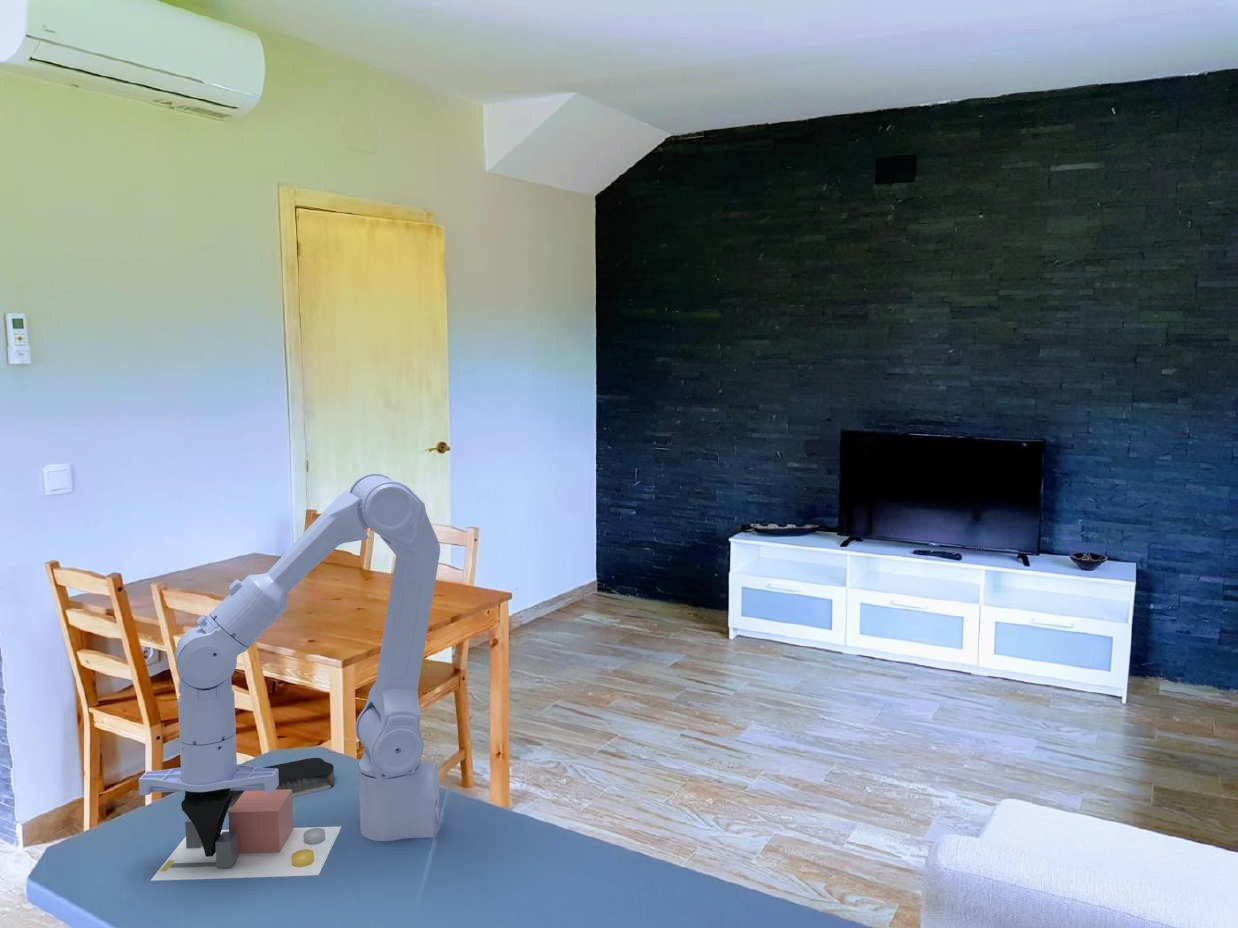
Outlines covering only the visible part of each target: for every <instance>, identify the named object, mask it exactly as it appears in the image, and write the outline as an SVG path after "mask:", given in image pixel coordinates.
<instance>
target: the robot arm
mask: <svg viewBox="0 0 1238 928" xmlns="http://www.w3.org/2000/svg"><path fill="white" fill-rule="evenodd" d="M367 529H370V530H372V532H374V533H375V534H377V535H378V536H380V538H381V540H382V541H383V542H384V543H385V545H387V546H388V547H389V549H390V550H391V552H393V553H394V555H395V561H394V568H393V572H392V580H391V584H390V592H389V597H388V604H387V610H386V616H385V622H384V628H383V629H384V630H383V635H382V641H381V647H380V653H379V658H378V659H379V660H378V667H377V671H376V673H377V674H376V677H375V682H374V684H373V686H372V687H371V688H370V690H369V692H368V695H367V701H366V704H365V706H364V708H363V709H362V710H361V712H360V713H359V715H358V717H357V719H356V722H355V734H356V737H357V739H358V740H359V742H360V743H361V745H362V746H364V747H363V748H364V751H363V754H362V757H361V758H360V760H359V763H358V777H359V778H358V780H359V781H358V783H359V785H358V786H359V816H360V817H359V821H360V822H359V825H360V833H361V835H362V836H363V837H365V838H366V839H368V840H371V841H376V842H393V841H398V840H404V839H421V838H425V839H426V838H432V841H431V844H430V849H433V847H434V844H435V840H436V835H437V833H438V829H439V825H440V821H441V809H440V775H439V773H440V772H439V765H438V763H437V762H436V763H435V762H429V761H427V762H426V761H423V760H421V759H422V756H423V753H424V750H425V749H424V748H425V747H424V746H425V744H424V743H425V742H424V738H423V736H422V732H421V720H422V713H421V712H422V711H421V706H420V700H419V692H418V690H419V684H420V679H421V673H422V672H421V671H422V665H423V660H424V653H425V648H426V640H427V635H428V630H429V629H428V627H429V623H430V616H431V612H432V604H433V597H434V592H435V586H436V581H437V573H438V567H439V561H440V555H441V554H440V553H441V544H440V542H439V539H438V537H437V534H436V532H435V530H434V528H433V526H432V523H431V521H430V517H429V516H428V513H427V511H426V505H425V502H424V501H423V500H422V499H421V498H420V497H419V496H418V495H417V494H416V493H415V492H414V491H413V490H412V489H411V488H409V487H408V486H407V485H406V484H405V483H402V482H399V481H397V480H393V479H392V478H390V477H388V476H386V475H385V474H380V473H369V474H365V475H363V476H361V477H359V478H358V479H357V480H356V481H355V482H354V483H353V484H352V485H351V487H350V489H349V490H345V491H343V492H342V493H340V494H339V495H337V496H336V498H335V499H333V501H332V502H331V503H330V504H329V505H328V507H326V509H324V510H323V512H322V513H321V514H320V515H319V516H318V517H317V518H316V519H315V520H314V521H313V523H311V524H310V525H309V527H308V528H307V529H305V530H304V532H303V533H302V534H301V535H300V536H299V537H298V539H296V541H295V542H294V543H293V544H292V545H290V547H289V548H288V549H287V550H286V552H285V553H284V554H283V555H281V557H280V558H278V560H277V561H276V562H275V563H274V564H273V565H272V566H271V568H270V569H268V571H267V572H264V573H260V574H259V573H258V574H249V575H247V576H246V577H245V578H244V579H243V580H242V581H240V580H239V579H235V580H234V581H233V582H231V584H230V585H229V586H228V589H229V591H230V593H229V594H228V595H227V596H226V597H225V598H223V600H222V601H220V602H219V604H218V605H217V606H216V607H215V608H213V610H212V611H211V612H210V613H208V615H207V616H206V615H205V614H202V615H201V616H200V617H199V618H198V619H197V620H196V625H198V626H197V627H191V628H190V629H188V630H187V631H186V632H184V633H183V634H182V635H181V636H180V638H179V640H177V641H178V642H177V644H176V648H175V651H174V652H173V655H174V659H175V661H176V662H175V663H176V670H177V672H178V675H179V681H178V685H177V686H178V688H177V689H178V693H179V696H178V699H177V710H178V733H179V734H178V735H179V752H180V753H179V755H180V758H179V759H180V767H176V768H175V767H173V768H169V769H168V768H167V769H159V770H147V771H145V772H144V773H143V774H141V776H140V777H139V778H138V791H139V792H138V793H139V794H138V795H139V796H149V795H151V794H152V793H175V792H176V793H177V792H179V793H181V792H184V799H182V801H181V802H180V805H181V810H182V812H184V814H185V815H186V816H187V817H188V818H189V819H190V820H191V822H192V823H193V825H194V827H195V828H196V830H197V833H198V835H199V837H200V840H201V842H202V845H203V848H204V852H205V856H206V857H212V856H213V855H214V854H215V852H216V845H215V842H216V841H217V839H218V838H219V837H220V835H221V830H223V827H224V823H225V819H226V815H227V814H228V812H227V811H228V808H229V806H230V803H231V801H232V799H233V796H234V794H235V792H236V790H264V792H274V791H275V789H276V788H277V786H278V785H279V775H278V768H263V767H259V766H254V765H247V764H246V765H245V764H238V760H237V759H238V757H237V732H236V731H237V730H236V728H237V727H236V707H235V705H236V704H235V691H234V690H233V688H232V686H233V685H232V676H233V675H234V673H235V671H236V668H237V663H238V656H239V655H240V654H242V653H244V652H246V651H248V649H249V648H250V647H251V646H253V645H254V643H255V642H256V641H257V640H258V639H259V638H260V637H261V636H263V634H264V633H265V632H266V631H267V630H268V629H269V628H270V627H271V626H272V625H273V624H274V623H275V622H276V621H277V620H278V619H279V618H280V617H281V616H282V615H283V614H284V613H285V612H286V611H287V610H288V594H289V593H290V591H292V589H294V587H296V586H297V585H298V584H299V583H300V582H301V581H302V580H303V579H304V578H305V577H306V576H308V575H309V574H310V573H311V572H312V571H313V570H314V569H315V568H316V567H317V566H318V565H319V564H320V563H321V562H323V561H324V560H325V559H326V558H327V557H328V556H329V555H330V554H331V553H332V552H334V551H335V549H337V548H338V547H339V546H340V545H342V544H346V543H352V542H353V543H354V542H358V541H365V540H368V539H369V535H368V533H367V532H366V530H367Z"/></svg>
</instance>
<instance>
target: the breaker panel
mask: <svg viewBox="0 0 1238 928" xmlns="http://www.w3.org/2000/svg"><path fill="white" fill-rule="evenodd" d="M184 822H185V823H184V825H185V837H184V838H183V839H182V840H181V841H180V843H179V844H178V845H177V847H176V848H175V849H174V850H173V851H172V853H171V854H170V855H169V857H168V858H167V859H166V860H165V862H164V863H163V864H162V865H161V867H160V868H159V869H158V870H157V872H156V873H155V874H154V875H153V876H152V878H151V879H150V882H156V881H157V882H158V881H187V880H189V881H190V880H218V879H221V880H222V879H247V878H249V879H251V878H278V877H283V878H284V877H307V876H308V877H309V876H310V877H311V876H313V877H315V876H317V877H318V876H320V874H321V872H322V869H323V867H324V865H325V862H326V860H327V859H328V857H329V855H330V852H331V851H332V848H333V846H334V844H335V842H336V840H337V838H338V835H339V833H340V831H341V829H342V826H341V825H340V826H316V827H315V826H313V827H310V826H309V827H308V826H307V827H293V830H292V832H291V834H290V836H289V837H288V839H287V841H286V843H285V844H284V846H283V848H282V849H281V851H280V853H251V854H238V855H239V857H238V858H237V860H236V861H235V863H234V864H233V866H232V867H231V868H216V852H215V854H214V855H213V856H212V857H206V856H205V852H204V848H203V845H202V842H201V840H200V837H199V835H198V833H197V830H196V828H195V827H194V825H193V823H192V822H191V820H190V819H189V817H188V818H187V819H186V820H185V821H184ZM223 832H229V829H222V830H221V834H222V833H223Z"/></svg>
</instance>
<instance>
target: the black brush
mask: <svg viewBox="0 0 1238 928" xmlns="http://www.w3.org/2000/svg"><path fill="white" fill-rule="evenodd" d="M262 768H278V775H279V785H278V786H277V788H276V789H275V790H286V789H292V798H295V797H299V796H305V795H307V794H313V793H316V792H322V791H325V790H328V789H331V788H333V787H334V785H335V777H334V776H335V775H334V773H335V771H334V770H335V769H334V768H335V766H334V765H333V764H332V763H330V762H328V761H325V760H324V759H323V758H321V757H311V758H310V757H309V758H305V759H301V760H300V759H299V760H295V761H289V762H283V763H279V764H273V765H269V766H263V767H262ZM244 791H248V790H236V792H235V794H234V796H233V799H232V801H231V803H230V806H229V808H228V811H227V813H228V812H229V811H230V810H231V808H232V807H233V806H234V804H235V803H236V802H237V800H238V799H239V798H240V796H241V795H242V794H243V792H244Z"/></svg>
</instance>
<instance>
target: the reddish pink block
mask: <svg viewBox="0 0 1238 928" xmlns="http://www.w3.org/2000/svg"><path fill="white" fill-rule="evenodd" d="M293 807H294V806H293V797H292V789H286V790H275V791H274V792H264V790H248V791H244V792H243V794H242V795H241V796H240V798H239V799H238V800H237V802H236V803H235V804H234V806H233V807H232V808H231V810H230V811H229V812H227V814H228V830H229V832H230V831H238V854H251V853H280V851H281V849H282V848H283V846H284V844H285V843H286V841H287V839H288V837H289V836H290V834H291V832H292V830H293V828H294V808H293Z"/></svg>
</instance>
